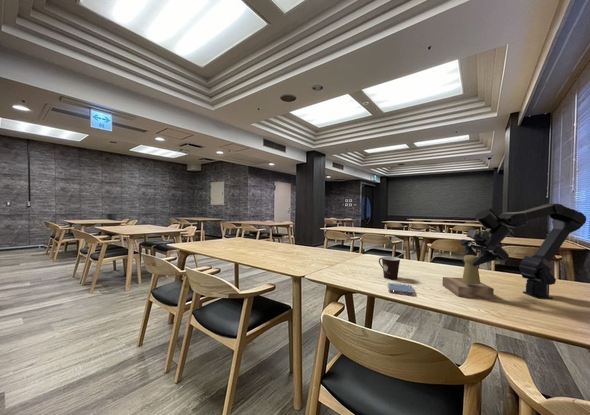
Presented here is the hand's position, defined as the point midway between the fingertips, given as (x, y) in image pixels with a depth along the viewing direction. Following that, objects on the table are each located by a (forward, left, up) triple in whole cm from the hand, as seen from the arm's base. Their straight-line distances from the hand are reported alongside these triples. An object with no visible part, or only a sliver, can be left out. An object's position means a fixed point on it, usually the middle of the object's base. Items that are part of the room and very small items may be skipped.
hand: (468, 263), depth 96 cm
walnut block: (-3, -5, -13) cm, 14 cm away
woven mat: (+25, -6, -14) cm, 29 cm away
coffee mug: (+22, -25, -13) cm, 36 cm away
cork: (-1, 0, -8) cm, 8 cm away
